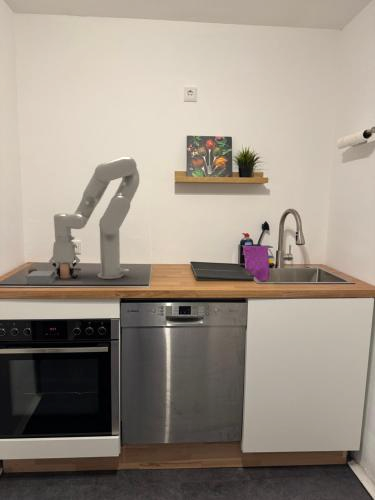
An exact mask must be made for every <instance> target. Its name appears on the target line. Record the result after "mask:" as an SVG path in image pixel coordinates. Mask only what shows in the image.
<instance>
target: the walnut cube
mask: <svg viewBox="0 0 375 500" xmlns="http://www.w3.org/2000/svg"><path fill="white" fill-rule="evenodd" d="M27 270H28V273H27V274H28V275H29V274H30V273H31V272H33V271H38V267H29V268H27Z"/></svg>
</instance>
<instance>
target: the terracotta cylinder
mask: <svg viewBox="0 0 375 500" xmlns="http://www.w3.org/2000/svg"><path fill="white" fill-rule="evenodd" d="M59 266H60V277H59V278H60V279H62V280H64V279H70V278H72V276H70V264H69V262H68V263H60V264H59Z"/></svg>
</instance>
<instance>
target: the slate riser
mask: <svg viewBox="0 0 375 500" xmlns="http://www.w3.org/2000/svg"><path fill="white" fill-rule="evenodd" d="M55 280H56V271H55V270H37V271H33V272H31V273H30V274H28V275H26V284H29V285H51V284H52V283H53V282H55Z"/></svg>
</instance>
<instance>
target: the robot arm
mask: <svg viewBox="0 0 375 500" xmlns="http://www.w3.org/2000/svg"><path fill="white" fill-rule="evenodd" d="M137 167H138V166H137V162H136V160H135V159H134V158H133V157H131V156H123V157H119V158H117V159H113V160H110V161H107V162H104V163H100V164H98V165H97V166H96V167H95V169H94V172H93V174H92V176H91V178H90V179H89V182H88V184H87V185H86V187H85V189H84V191H83V194H82V198H81V200H80V202H79V204H78V207H77V208H76V210H75V212H74V213H72V214H68V213H57V214H56V213H55V214H54V215H53V225H54V226H53V228H54V242H53V247H52V248H53V249H52V257H51V258H50V259H49V260H48V263H49V264H50V265H52V266H53V267H54V268H55V269H56V274H57V276H58V277H59V278H60V266H59V264H60V263H69V264H70V276H71V277H72V276H74V272H75V271H74V267H75V266H77V264H79V263H80V262H81V259H80V258H79V257H78V256H77V254H76V248H75V247H76V246H75V242H74V241H73V240H75V236H73V235H72V230H81V229H82V230H83V229H84V228H85V227H86V225H87V224H88V222H89V219H90V218H91V216H92V214H93V213H94V211H95V209H96V207H97V206H98V204H99V203H100V201H101V199H103V198H102V197H103V196H104V194H105V192H106V191H107V188H108V187H109V185H110V183H111V182H112V181H115V180H117V179H118V180H119V179H121V182H120V183H119V186H118V188H117V190H116V191H115V193H114V195H113V196H112V197H111V199H110V202H109V203H108V205H107V207H106V209H105V211H104V213H103V214H102V216H101V218H100V219H99V222H98V223H99V225H98V227H99V248H100V249H99V252H100V253H99V254H100V255H99V256H100V272H99V273H97V278H99V279H102V280H103V279H104V280H112V279H113V280H115V279H121V278H122V277H123V276H124V274H129V273H130V269H129V268H122V267H121V263H120V261H121V259H120V256H121V255H120V253H121V251H120V249H121V248H120V243H121V242H120V228H121V226H122V225H123V222H124V221H125V219H126V217H127V215H129V214H128V213H129V212H130V209H131V202H132V201H133V198H134V196H135V195H136V192H137V190H138V188H139V184H140V174H139V173H140V172H139V170H138V168H137Z"/></svg>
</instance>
